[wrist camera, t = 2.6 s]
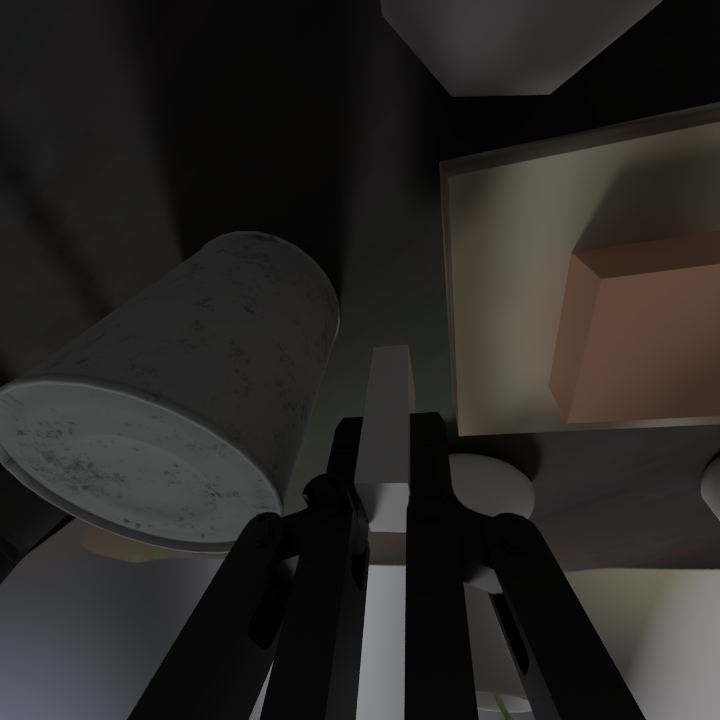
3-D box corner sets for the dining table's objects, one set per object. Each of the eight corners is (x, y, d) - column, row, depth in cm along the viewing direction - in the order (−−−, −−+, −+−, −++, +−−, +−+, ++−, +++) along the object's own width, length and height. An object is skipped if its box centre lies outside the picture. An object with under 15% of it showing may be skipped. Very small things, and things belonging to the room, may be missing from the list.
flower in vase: (392, 509, 33) (372, 1092, 14) (396, 434, 26) (369, 1394, 7) (528, 521, 32) (723, 1186, 12) (569, 445, 25) (1167, 1683, 5)
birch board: (451, 390, 23) (459, 435, 20) (439, 161, 15) (448, 176, 12) (689, 373, 20) (742, 423, 17) (833, 77, 12) (983, 68, 9)
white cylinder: (239, 189, 17) (7, 306, 7) (372, 313, 20) (342, 507, 10) (163, 304, 21) (-39, 470, 12) (281, 389, 25) (202, 571, 15)
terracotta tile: (548, 386, 17) (567, 423, 15) (571, 252, 13) (601, 279, 11) (711, 374, 16) (756, 413, 14) (795, 219, 12) (876, 243, 10)
